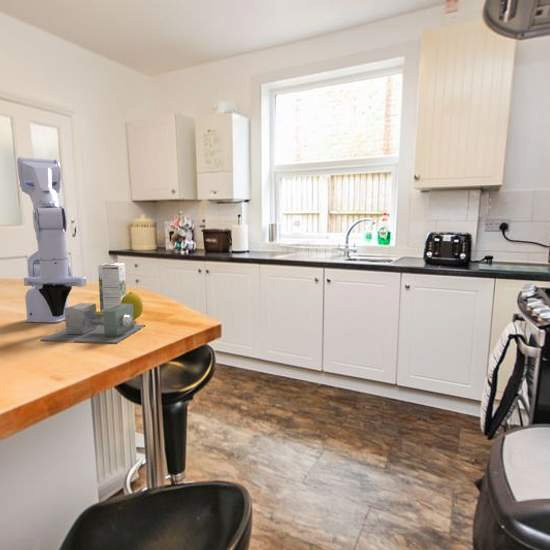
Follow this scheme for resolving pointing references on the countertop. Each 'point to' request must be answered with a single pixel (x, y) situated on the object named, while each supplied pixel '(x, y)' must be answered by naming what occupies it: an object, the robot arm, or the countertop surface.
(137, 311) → the lemon
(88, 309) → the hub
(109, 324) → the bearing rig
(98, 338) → the mat
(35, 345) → the countertop surface
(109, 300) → the syrup box
